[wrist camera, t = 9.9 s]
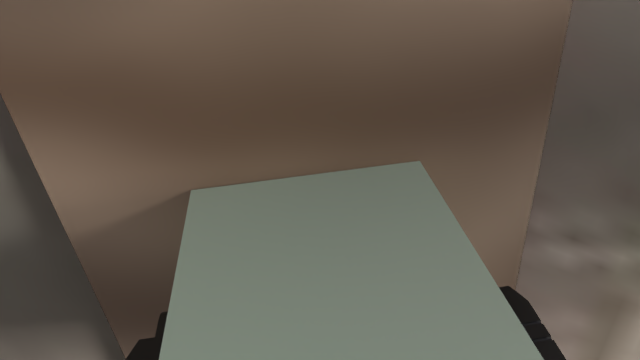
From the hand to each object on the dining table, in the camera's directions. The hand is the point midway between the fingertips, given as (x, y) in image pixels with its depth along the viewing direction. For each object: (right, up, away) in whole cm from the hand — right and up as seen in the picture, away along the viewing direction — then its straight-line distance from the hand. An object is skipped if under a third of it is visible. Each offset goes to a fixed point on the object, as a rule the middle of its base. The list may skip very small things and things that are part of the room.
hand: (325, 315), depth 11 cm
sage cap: (0, +1, +2) cm, 2 cm away
